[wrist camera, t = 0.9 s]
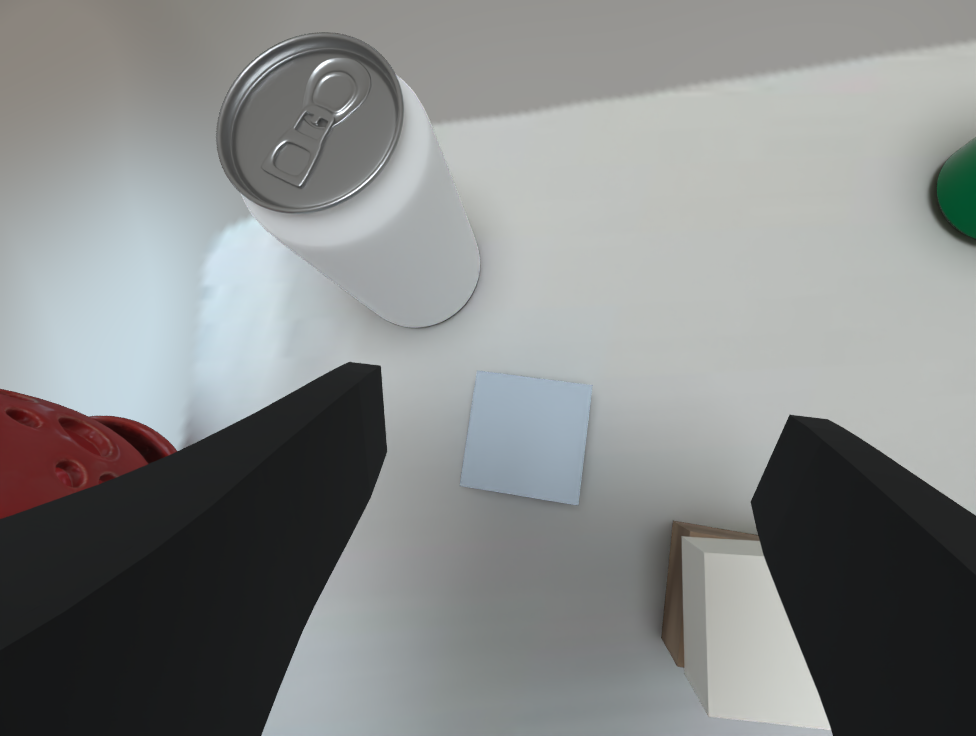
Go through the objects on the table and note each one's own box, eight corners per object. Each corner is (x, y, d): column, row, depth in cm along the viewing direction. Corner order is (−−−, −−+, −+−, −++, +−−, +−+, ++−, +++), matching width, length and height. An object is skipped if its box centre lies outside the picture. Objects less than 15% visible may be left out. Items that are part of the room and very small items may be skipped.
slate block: (575, 498, 23) (578, 505, 20) (471, 480, 24) (459, 485, 21) (587, 392, 24) (592, 385, 21) (486, 379, 24) (477, 370, 22)
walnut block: (782, 661, 21) (820, 697, 18) (660, 636, 22) (677, 666, 19) (790, 540, 21) (828, 555, 19) (672, 519, 22) (689, 531, 19)
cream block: (828, 687, 18) (882, 735, 15) (684, 673, 19) (708, 716, 16) (819, 544, 19) (868, 563, 16) (681, 536, 19) (704, 552, 16)
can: (504, 242, 25) (460, 63, 13) (443, 352, 25) (341, 265, 13) (400, 192, 26) (276, -11, 15) (339, 296, 26) (161, 171, 14)
